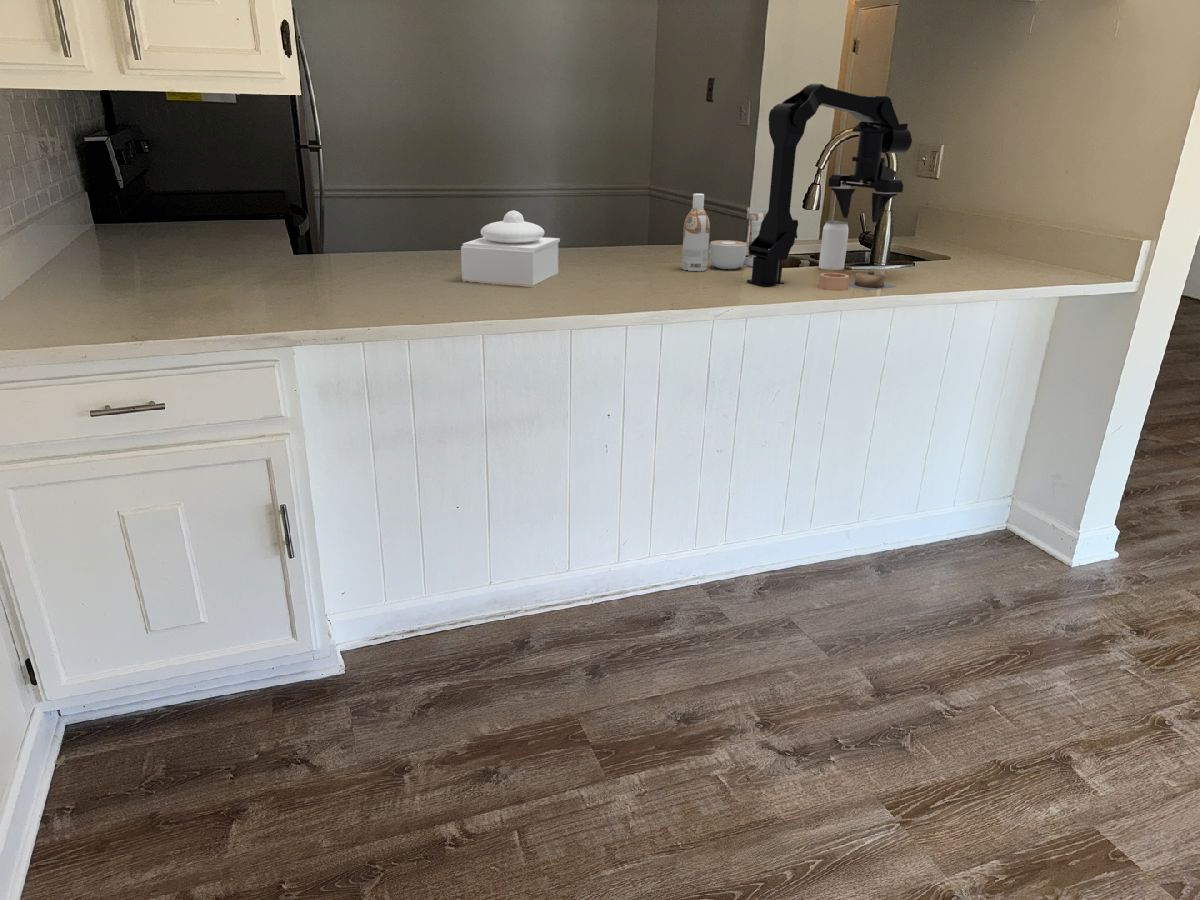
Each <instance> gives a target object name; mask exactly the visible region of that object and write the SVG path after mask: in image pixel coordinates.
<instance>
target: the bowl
mask: <svg viewBox="0 0 1200 900" xmlns="http://www.w3.org/2000/svg"><path fill="white" fill-rule="evenodd" d="M818 278H819V280H818V289H821V290H827V291H836V292H837V291H847V290H848V287H849V286H848V283H849V279H850V277H849V274H845V273H841V272H838V273H837V272H823V273H822V272H821V273H819V277H818Z"/></svg>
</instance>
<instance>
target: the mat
mask: <svg viewBox="0 0 1200 900" xmlns="http://www.w3.org/2000/svg"><path fill="white" fill-rule="evenodd" d="M848 287H851V288H856V289H860V290H864V291H872V290H873V291H874V290H883V289H890V288H897V287H898V286H896V285H891V284H888V283H884V287H882V288H865V287H860V286H856V285H855V282H848Z"/></svg>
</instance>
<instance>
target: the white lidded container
mask: <svg viewBox="0 0 1200 900" xmlns="http://www.w3.org/2000/svg"><path fill="white" fill-rule="evenodd" d="M545 232H546V231H545V229H543V227H542V226H541V225H539V224H535V223H534V222H533V223H532V222H529V221H525V219H524V217H523V214H522V213H521V212H519V211H517V210H514V209H513V210H510V211H508V212H506V214H505V215H504V216H503V220H500V221H495V222H491V223H488V224H486V225H484V226H483V227H481V229H480V234H481V236H482V237H480V238H476V239H473V240H470V241H467V242H464V243H462V246H460V259H461V260H460V261H461V263H460V264H461V280H462V279H463V280H473V281H483V282H494V283H509V284H522V285H535V284H537V283H539V282H541V281H543V280H545V279H547V278H549V277H551V276H554V275H556V274H558V275H559V243H560V241H561V238H560V237H559V238H558V237H544V236H545Z"/></svg>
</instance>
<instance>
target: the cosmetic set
mask: <svg viewBox="0 0 1200 900" xmlns="http://www.w3.org/2000/svg"><path fill="white" fill-rule="evenodd" d="M692 197H693V198H692V207H691V210H690V211H689V213H688V214H687V215H686V216H685V219H684V223H683V233H682V237H683V238H682V251H681V254H682V255H681V269H682V270H683V269H684V270H683V271H685V270H688V271H687V272H690V271H702V272H705V271H707V270H708V257H709V261H710V262H711V264H712V266H713V267H715V268H717V269H719V270H725V269H728V270H729V271H730V270H732V269H733V270H736V269H739V268H740V267H742V266H743V264H744V263H745V260H746V257H747V261H746V264H747V266H748V267H750V268H753V257H756V256H754V255H750V254H749V249H748V250H747V246H749V245H750V244H751V243H752V242H753V241H754V240H755V238H756V237H757V236H758V235H759V232H760V227H761V223H762V221H763V219H764V218H765V216H766V214H767V213H768V209H758V210H757V209H755V210H753V209H752V210H750V209H749V210H748V215H749V239H748V245H747V242H744V241H739V240H729V239H728V240H725V239H723V240H721V239H720V240H719V239H718V240H712V241H710V232H711V231H710V230H711V229H710V226H711V224H710V219H709V217H708V214H707V212H706V210H705V208H704V205H705V194H704V193H693V195H692ZM709 244H710V246H709ZM709 247H710V248H709ZM747 251H748V253H747ZM746 255H747V256H746Z"/></svg>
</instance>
